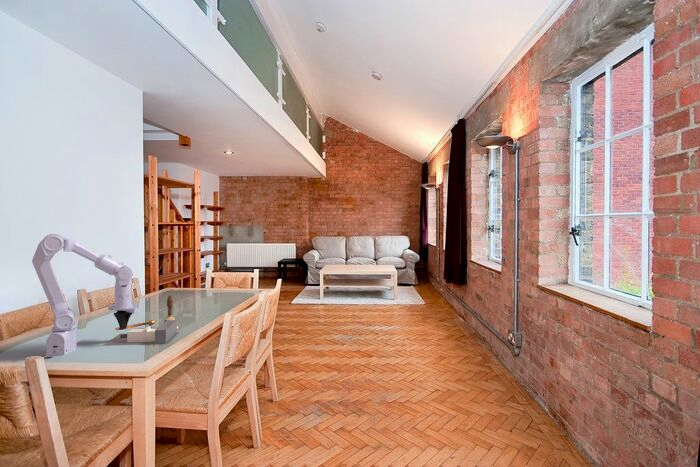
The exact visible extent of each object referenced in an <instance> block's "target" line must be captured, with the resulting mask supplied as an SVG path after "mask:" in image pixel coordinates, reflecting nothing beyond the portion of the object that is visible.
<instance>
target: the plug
mask: <svg viewBox="0 0 700 467" xmlns="http://www.w3.org/2000/svg"><path fill="white" fill-rule="evenodd" d="M156 329H157V328H154V329H151V326H146V327H145V328H130V330H128V331H127V332H126V333H120V334H121V336H120V338H127V343H128V342H155V330H156Z"/></svg>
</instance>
